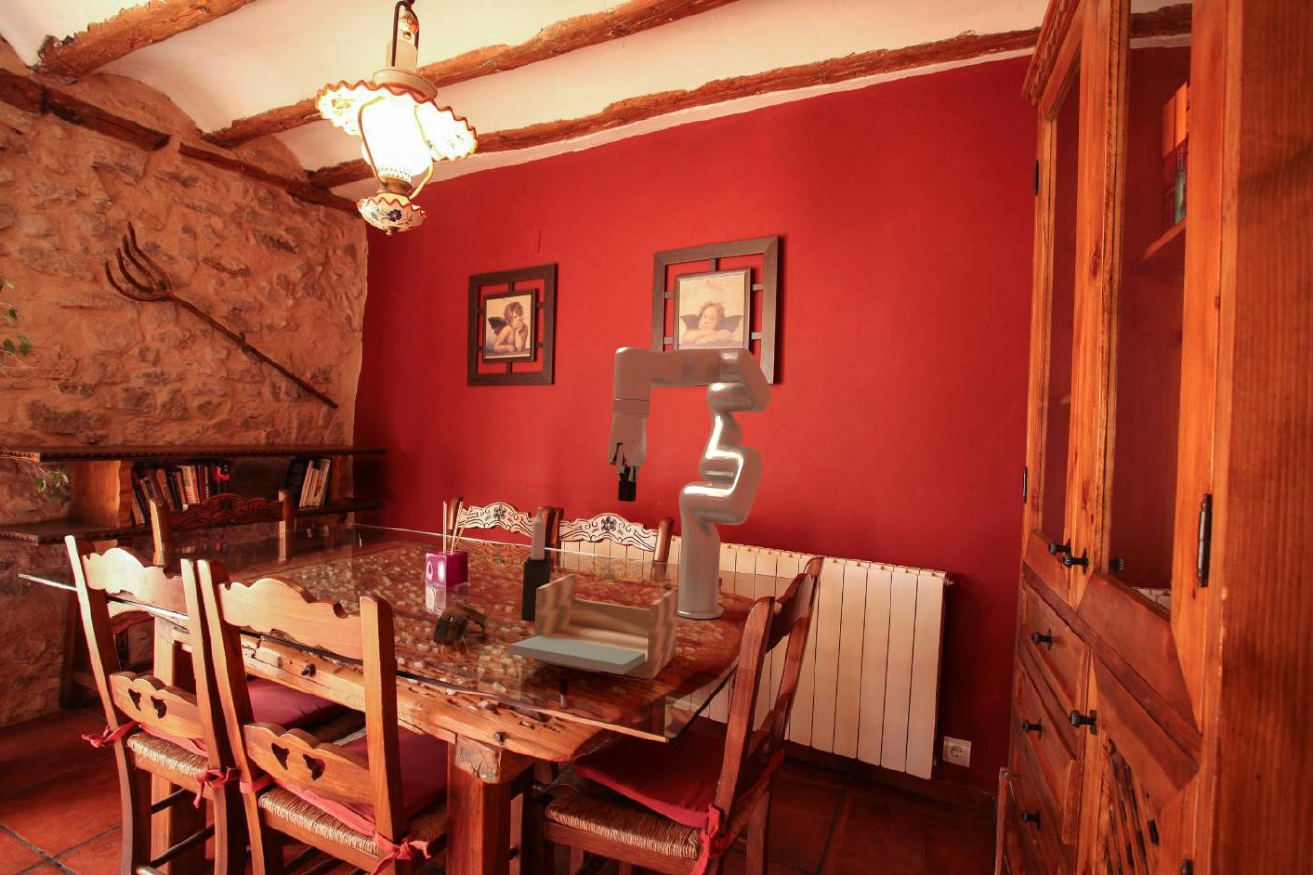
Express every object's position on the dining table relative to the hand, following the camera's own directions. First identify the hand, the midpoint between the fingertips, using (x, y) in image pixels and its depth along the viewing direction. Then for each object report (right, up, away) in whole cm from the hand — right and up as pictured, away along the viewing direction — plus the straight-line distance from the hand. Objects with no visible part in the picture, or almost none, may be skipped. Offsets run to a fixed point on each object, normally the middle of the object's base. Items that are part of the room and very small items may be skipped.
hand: (626, 500), depth 126 cm
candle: (-21, -28, +16) cm, 39 cm away
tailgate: (-6, -26, -13) cm, 30 cm away
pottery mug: (-33, -28, -1) cm, 43 cm away
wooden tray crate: (-4, -29, -6) cm, 30 cm away
